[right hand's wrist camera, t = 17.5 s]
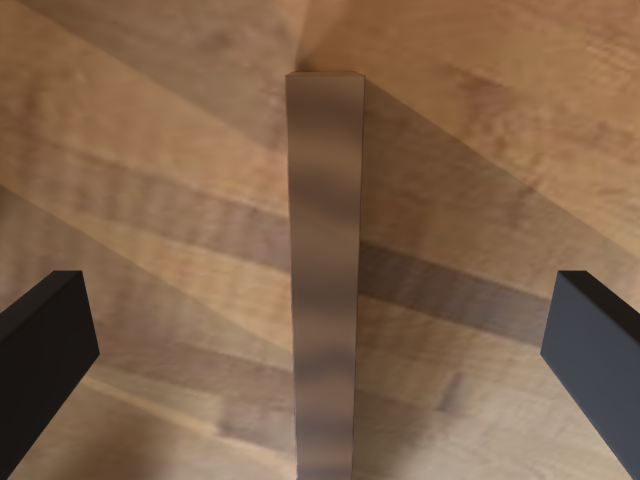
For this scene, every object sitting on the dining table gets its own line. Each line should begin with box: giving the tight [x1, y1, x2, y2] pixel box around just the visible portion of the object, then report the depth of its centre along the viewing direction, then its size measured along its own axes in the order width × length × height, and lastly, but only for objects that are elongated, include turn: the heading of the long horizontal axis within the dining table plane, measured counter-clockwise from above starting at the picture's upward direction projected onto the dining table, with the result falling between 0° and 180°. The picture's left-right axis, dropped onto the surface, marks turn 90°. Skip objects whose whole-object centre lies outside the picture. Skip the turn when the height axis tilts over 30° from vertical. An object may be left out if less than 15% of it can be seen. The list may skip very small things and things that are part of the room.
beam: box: [285, 71, 365, 480], centre depth 39 cm, size 52×5×7 cm, turn 0°
